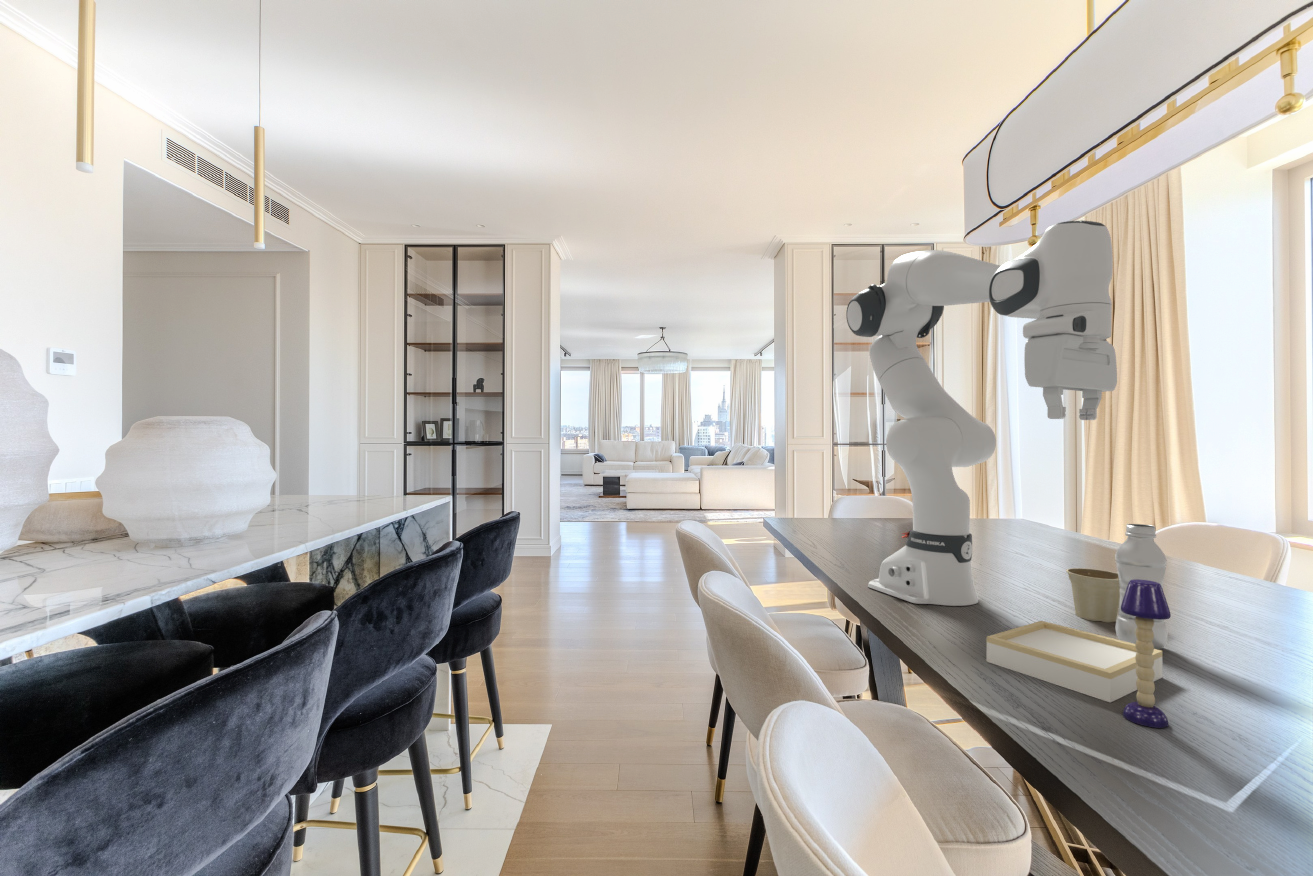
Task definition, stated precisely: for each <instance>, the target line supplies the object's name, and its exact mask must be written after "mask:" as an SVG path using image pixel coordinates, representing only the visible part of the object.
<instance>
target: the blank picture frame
mask: <svg viewBox="0 0 1313 876" xmlns="http://www.w3.org/2000/svg"><path fill="white" fill-rule="evenodd" d="M1136 653H1137V650H1136V647H1135V644H1133V643H1129V642H1125V641H1121V640H1119V639H1118V638H1112V637H1109V636H1104V635H1100V634H1096V633H1093V632H1089V631H1085V630H1081V629H1078V628H1072V627H1069V626H1065V625H1060V624H1056V623H1052V622H1049V621H1044V620H1039V621H1035V622H1032V623H1029V624H1025V625H1021V626H1018V627H1015V628H1011V629H1008V630H1005V631H1001V632H998V633H994V634H991V635H987V636H986V663H990V664H993V665H996V666H999V667H1002V668H1005V669H1008V670H1011V671H1014V672H1016V673H1020V674H1023V675H1025V676H1029V677H1032V678H1035V679H1038V680H1042V681H1044V682H1046V683H1050V684H1053V685H1057V686H1060V687H1063V688H1064V689H1069V690H1072V691H1074V692H1077V693H1080V694H1082V695H1083V694H1084V695H1085V696H1086V695H1087V696H1090V697H1091V698H1096V699H1099V700H1101V701H1104V702H1107V703H1113V702H1115V701H1117V700H1119V699H1121V698H1123V697H1125V696H1128V695H1129V694H1132V693H1133V692H1135V691H1138V689H1137V686H1136V681H1137V678H1138V677H1137V675H1136V667H1137V663H1136V660H1135V656H1136ZM1152 655H1153V658H1154V665H1153V667H1152V668H1153V670H1154V673H1155V676H1154V679H1153V682H1154V683H1155V682H1156V681H1158V680H1160V679H1162V678H1163V650H1162V649H1159V650H1157V649H1154V652H1153V653H1152Z"/></svg>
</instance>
